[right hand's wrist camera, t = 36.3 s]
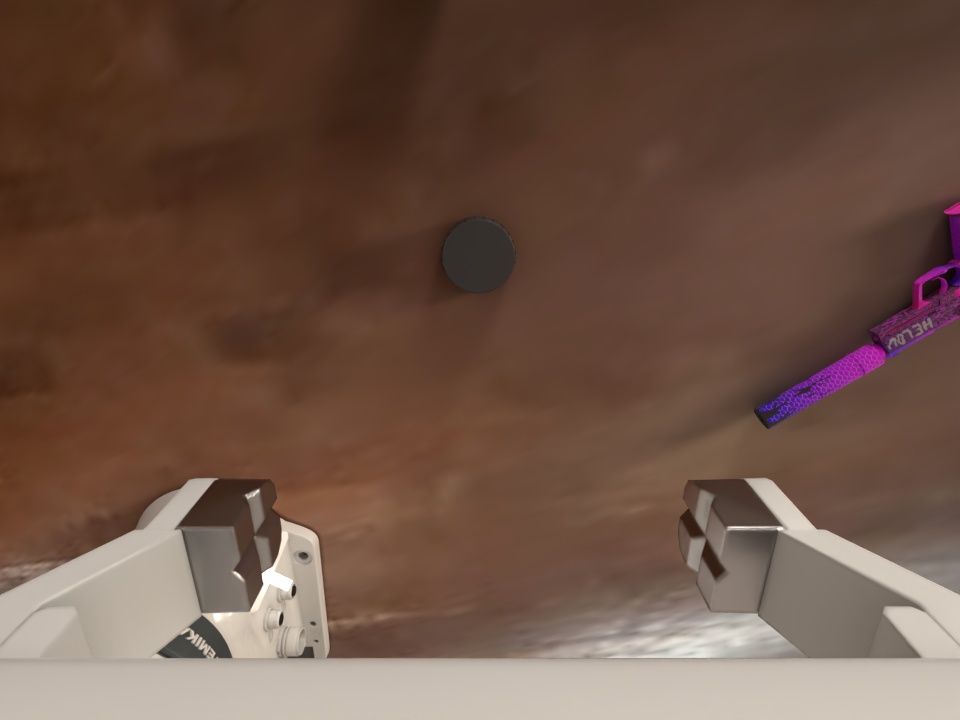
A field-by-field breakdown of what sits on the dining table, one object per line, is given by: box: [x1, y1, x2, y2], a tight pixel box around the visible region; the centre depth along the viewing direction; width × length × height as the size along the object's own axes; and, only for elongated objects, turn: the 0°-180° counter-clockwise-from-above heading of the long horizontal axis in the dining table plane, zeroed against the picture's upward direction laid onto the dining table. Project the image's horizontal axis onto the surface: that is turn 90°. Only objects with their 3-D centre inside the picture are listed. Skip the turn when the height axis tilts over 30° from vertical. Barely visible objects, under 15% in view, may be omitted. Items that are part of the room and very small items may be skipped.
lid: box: [441, 216, 516, 293], centre depth 38 cm, size 5×5×2 cm
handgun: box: [754, 202, 960, 429], centre depth 39 cm, size 21×8×2 cm, turn 127°
